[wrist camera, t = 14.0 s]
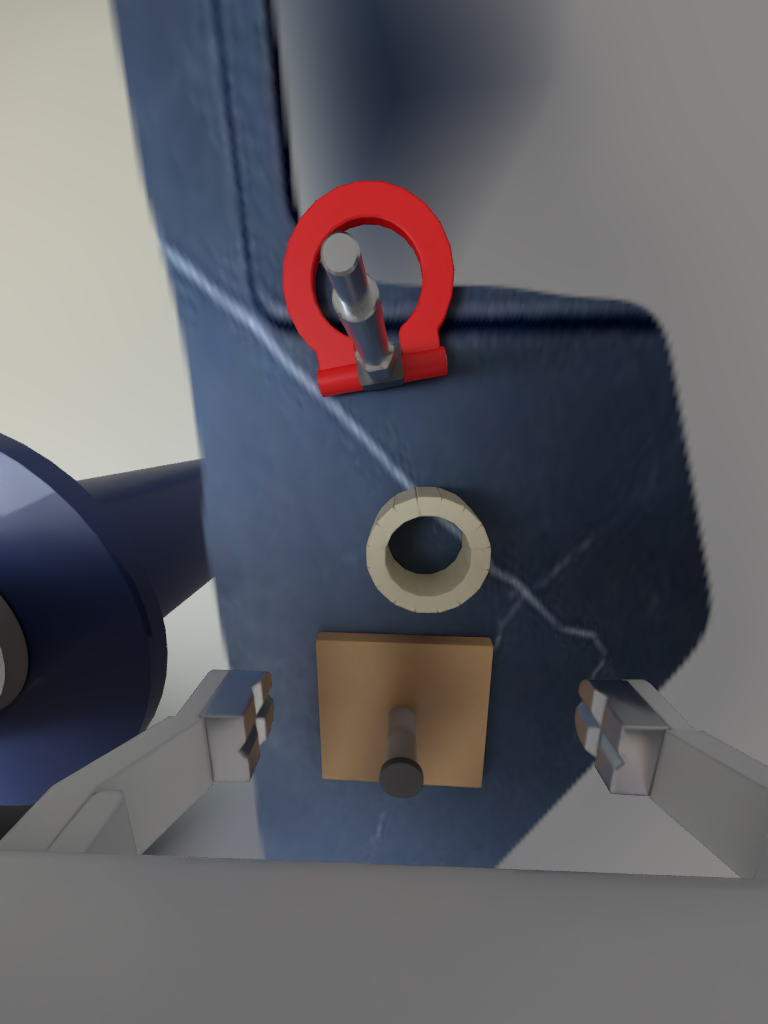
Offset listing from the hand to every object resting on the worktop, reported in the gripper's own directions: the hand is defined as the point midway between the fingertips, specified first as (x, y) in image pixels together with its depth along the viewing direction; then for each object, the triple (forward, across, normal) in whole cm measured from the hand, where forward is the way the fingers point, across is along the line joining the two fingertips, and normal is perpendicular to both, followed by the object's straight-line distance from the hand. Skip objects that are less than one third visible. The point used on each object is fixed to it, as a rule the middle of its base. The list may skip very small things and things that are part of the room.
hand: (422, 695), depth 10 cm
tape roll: (+12, -1, 0) cm, 13 cm away
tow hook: (+13, +2, -13) cm, 19 cm away
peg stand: (+12, 0, +12) cm, 17 cm away
